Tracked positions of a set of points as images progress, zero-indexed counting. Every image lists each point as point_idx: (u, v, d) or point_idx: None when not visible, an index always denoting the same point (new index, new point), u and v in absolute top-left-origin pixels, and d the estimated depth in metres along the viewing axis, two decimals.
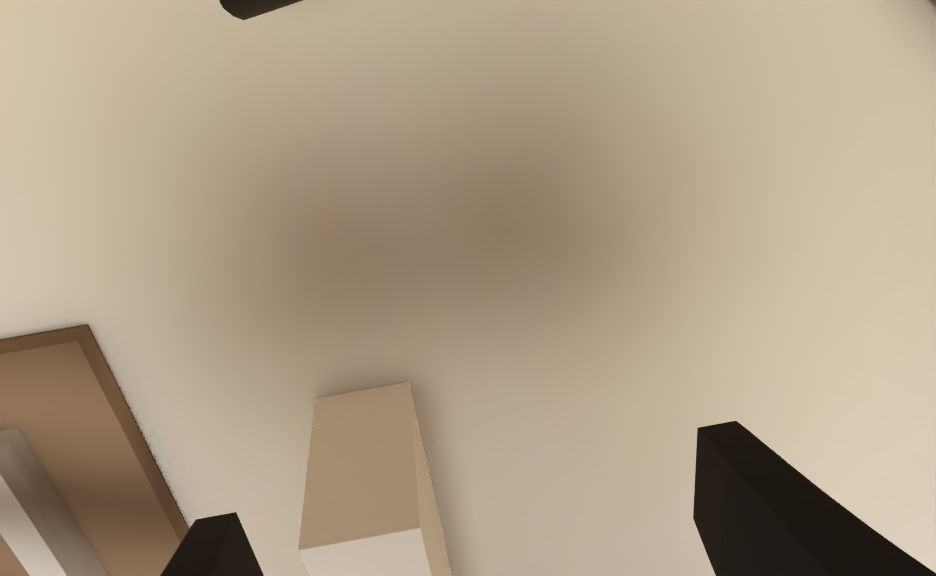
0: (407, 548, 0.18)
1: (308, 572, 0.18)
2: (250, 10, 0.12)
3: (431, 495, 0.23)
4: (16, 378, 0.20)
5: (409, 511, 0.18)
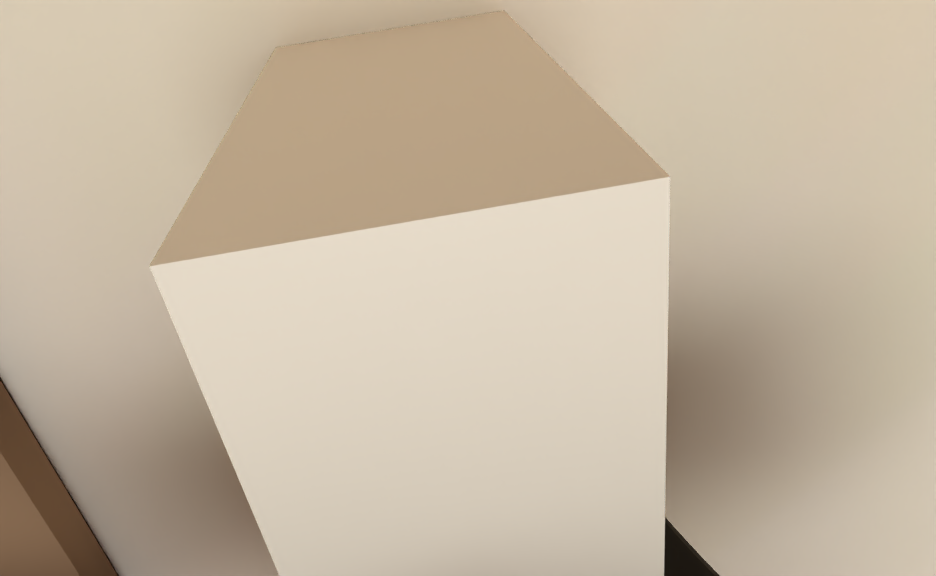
0: (601, 284, 0.04)
1: (204, 382, 0.04)
2: None
3: None
4: None
5: (601, 152, 0.05)
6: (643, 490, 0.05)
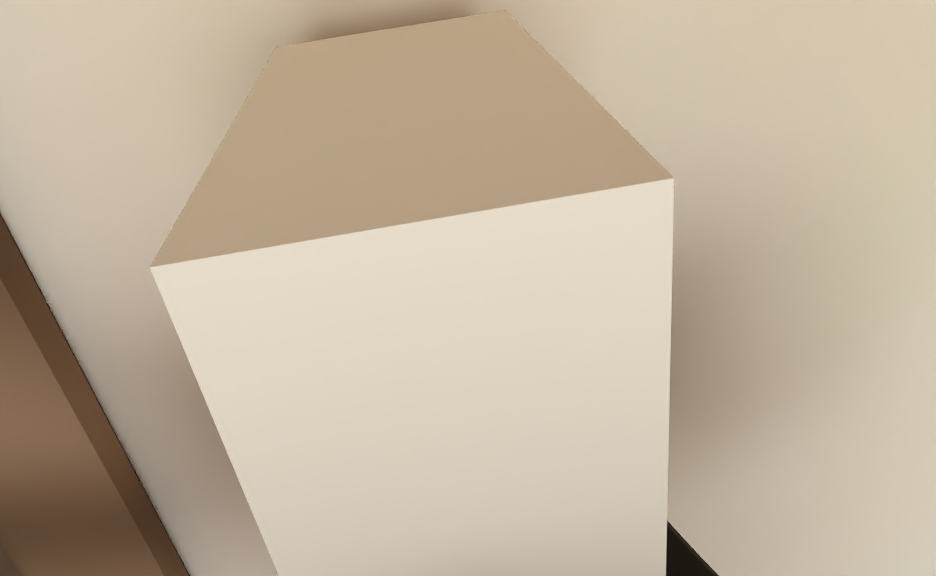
0: (605, 286, 0.04)
1: (205, 384, 0.04)
2: None
3: None
4: None
5: (605, 151, 0.04)
6: (645, 493, 0.05)
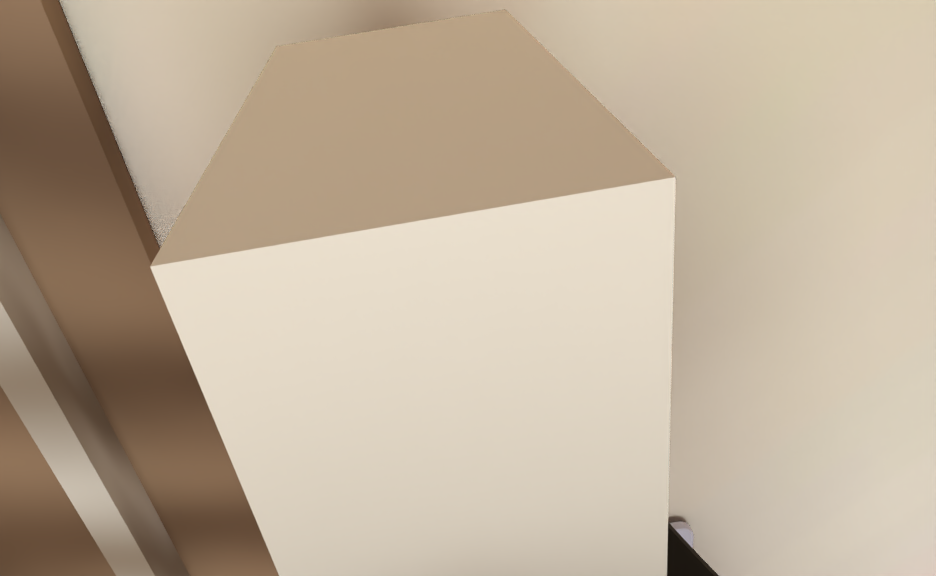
0: (606, 285, 0.04)
1: (205, 383, 0.04)
2: None
3: None
4: None
5: (605, 151, 0.04)
6: (646, 492, 0.05)
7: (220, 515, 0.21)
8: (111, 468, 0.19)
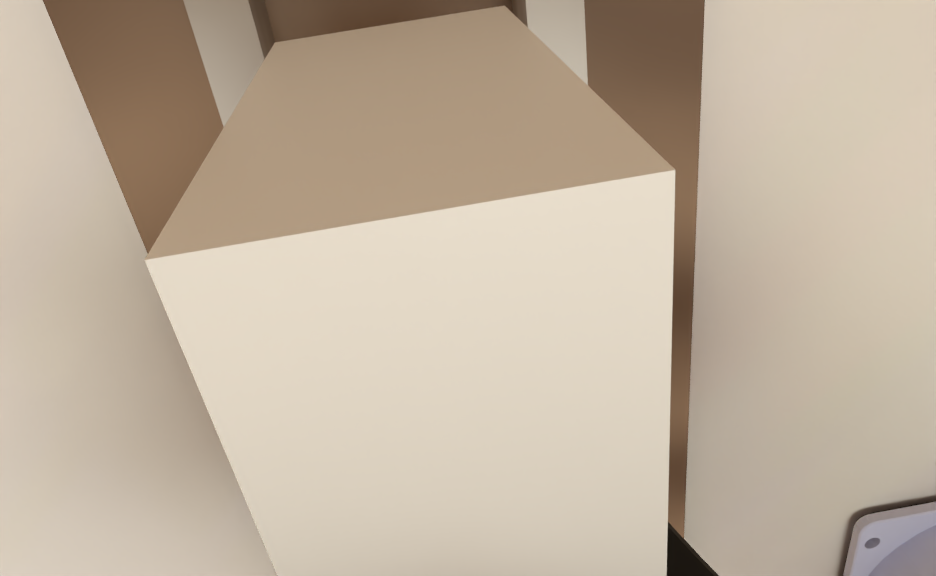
0: (605, 280, 0.04)
1: (201, 378, 0.04)
2: None
3: None
4: None
5: (605, 144, 0.04)
6: (646, 489, 0.05)
7: None
8: None
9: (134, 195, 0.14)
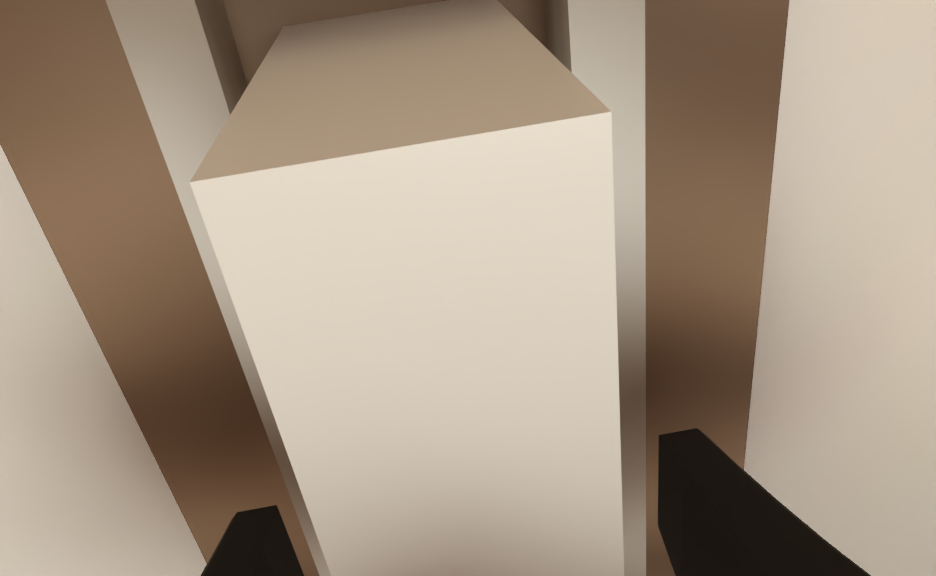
0: (558, 204, 0.05)
1: (231, 284, 0.05)
2: None
3: None
4: None
5: (559, 96, 0.05)
6: (600, 391, 0.06)
7: None
8: None
9: (75, 269, 0.12)
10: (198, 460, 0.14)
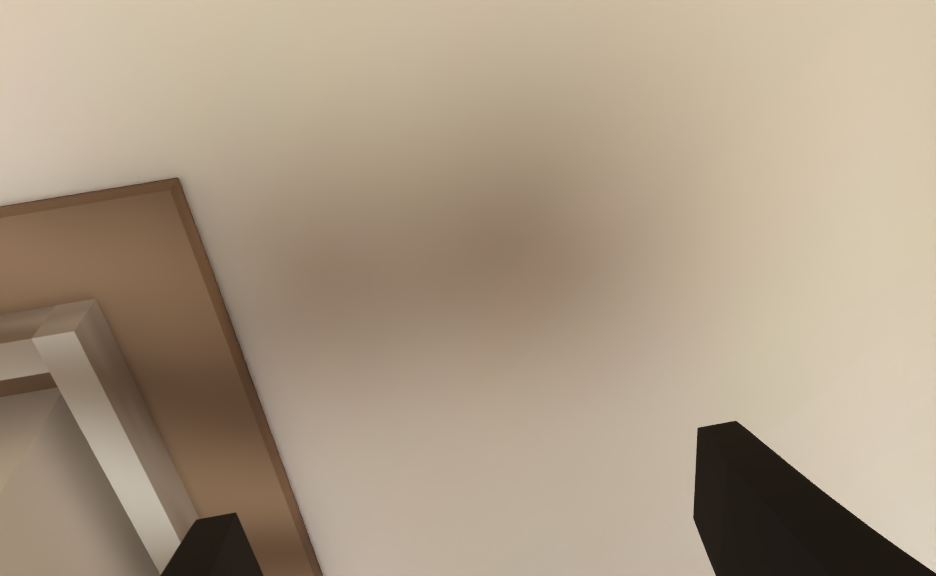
0: None
1: None
2: None
3: (107, 521, 0.20)
4: (98, 236, 0.17)
5: None
6: None
7: None
8: None
9: None
10: None
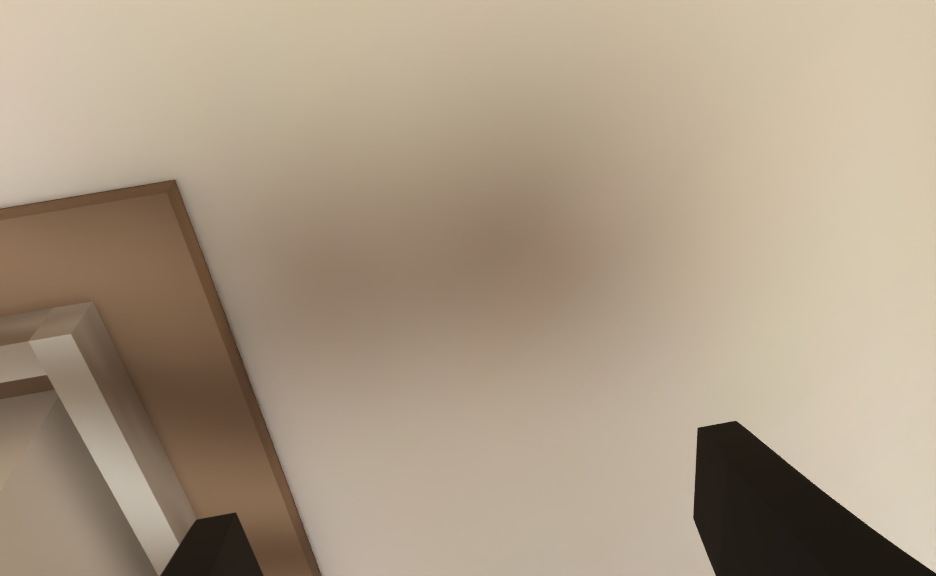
0: None
1: None
2: None
3: (105, 523, 0.20)
4: (94, 238, 0.17)
5: None
6: None
7: None
8: None
9: None
10: None
